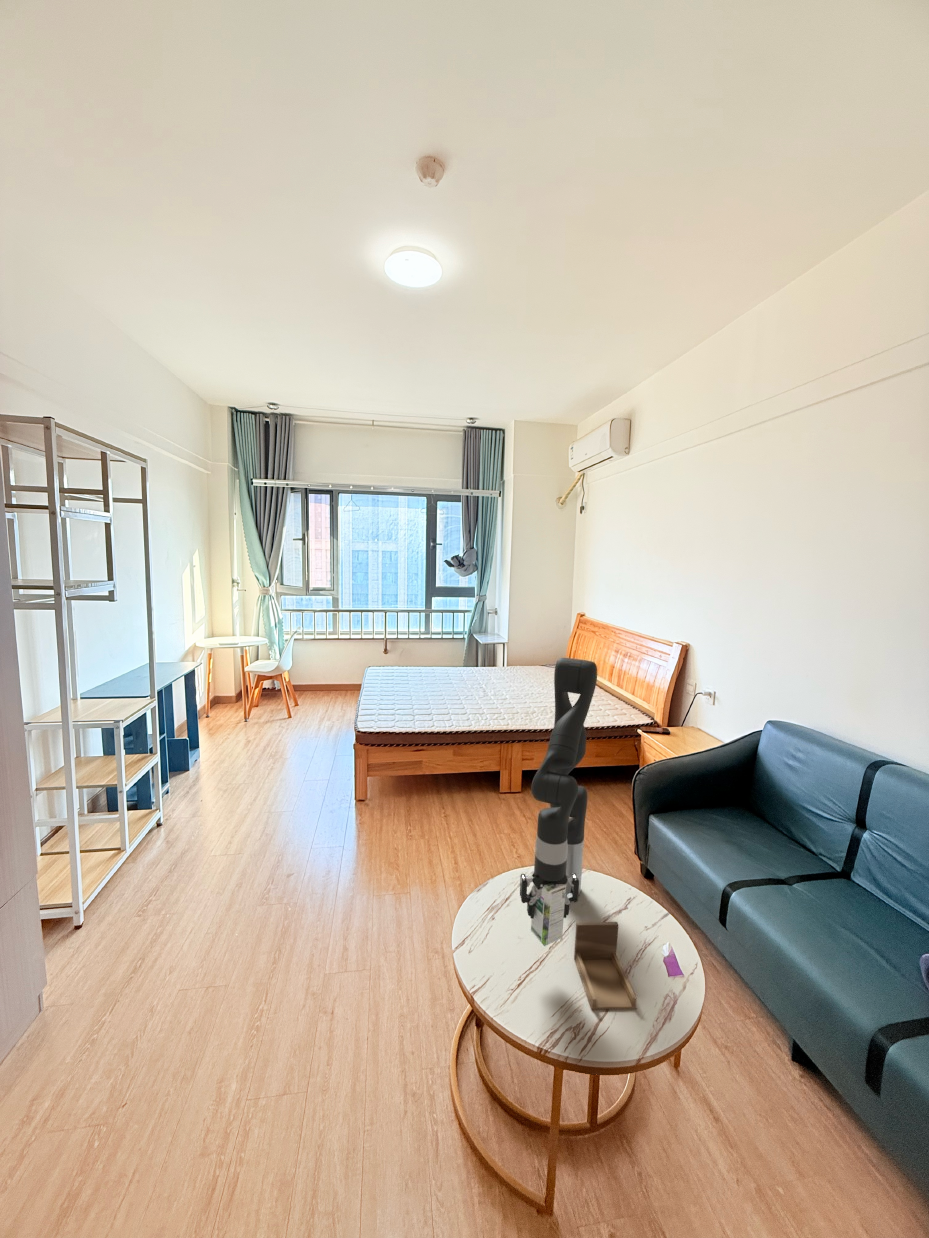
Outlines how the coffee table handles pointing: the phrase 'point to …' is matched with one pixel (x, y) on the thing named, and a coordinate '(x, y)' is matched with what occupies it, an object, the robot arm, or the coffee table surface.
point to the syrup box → (549, 914)
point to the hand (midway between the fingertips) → (547, 915)
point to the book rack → (602, 966)
